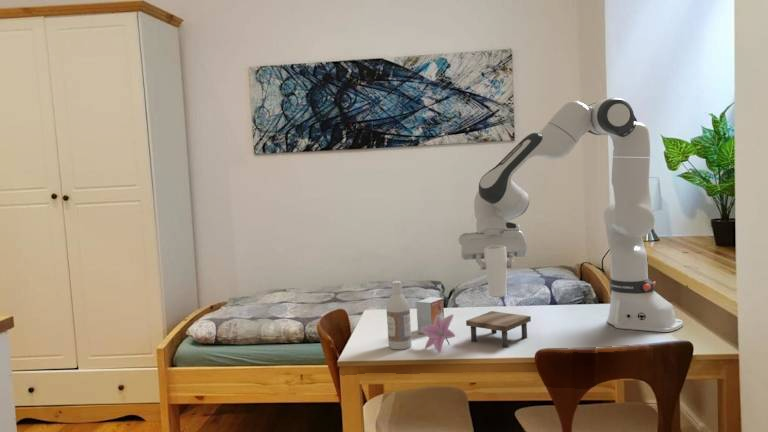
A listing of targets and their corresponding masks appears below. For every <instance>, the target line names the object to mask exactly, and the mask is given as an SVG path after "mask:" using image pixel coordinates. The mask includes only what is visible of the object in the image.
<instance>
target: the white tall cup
mask: <svg viewBox="0 0 768 432" xmlns="http://www.w3.org/2000/svg"><path fill="white" fill-rule="evenodd" d="M493 246H496V247H499V248H497V249H488V248H490V247H492V246H486V247H484V259H483V260H484V261H483V262H485V265H486V269H485V273H486V279H487V287H488V296H489V297H491V298H502V297H505V296H507V292H508V291H507V281H508V280H507V278H508V274H507V273H508V268H507V261H508V258H507V251H506V246H503V245H493Z"/></svg>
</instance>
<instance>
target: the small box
mask: <svg viewBox="0 0 768 432" xmlns="http://www.w3.org/2000/svg"><path fill="white" fill-rule="evenodd" d="M415 303H416V316H417V317H416V318H417V320H416V321H417V333H418V334H424V333H423V332H422V331H421V328H423V327H425V326H428V325H434V322H435V318H436V316H437V315H439V317H440V318H441V320H443V319H444V318H445V309H444V308H445V307H444V298H443V297H434V296H429V297H427V298H424V299H421V300H417V301H416V302H415ZM424 335H425V334H424Z"/></svg>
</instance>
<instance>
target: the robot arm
mask: <svg viewBox="0 0 768 432" xmlns="http://www.w3.org/2000/svg"><path fill="white" fill-rule="evenodd" d="M586 133H589V134H592V135H596V136H609V137H610V139H611V141H612V146H613V150H612V164H611V185H612V189H613V196H614V201H613V202H610V204H608V205H607V207H606V208H605V210H604V212H603V221H604V224H605V229H606V237H607V243H608V248H609V254H610V255H609V256H610V257H609V258H610V278H609V293H610V305H609V312H608V315H607V318H606V322H607V323H608V324H610V325H613V326H614V328H616V329H620V330H621V329H623V330H632V331H633V330H635V331H636V330H637V331H645V332H646V331H649V332H659V333H669V332H674V331H676V330H679V329H681V328H682V327H683V326H684V321H683V320H682V319H679V318H676V314H675V310H674V306H673V304H672V303H671V302H669V301H668V300H666V298H664V297H663V296H662V295H660V294H659V293H658V292H656V291H655V286H656V281H652V280H651V279H650V278H649V275H648V274H649V272H648V271H649V270H648V254H647V253H648V252H647V250H646V248H645V244H644V239H643V238H644V237H645V236H648V235H649V234H650V233H651V231H652V230H653V228H654V226H655V217H654V216H655V215H654V213H653V210H652V209H653V208H652V200H651V199H652V198H651V193H650V192H651V191H650V167H651V166H650V163H651V141H650V133H649V129H648V127H647V125H645V124H643V123H641V122H638V120H637V118H636V116H635V113H634V110H633V107H632V106H631V104H629V102H628V101H626V100H625V99H623V98H618V97H612V98H611V97H610V98H603V99H601V100H599V101H598V102H593V103H592V104H589V105H586V104H585V103H583V102H580V101H578V100H570V101H567V103H565V104H564V105H563V106H562V107H561V108H560V109H559V110H558V111H556V113H555V114H554V115H553V116H552V117H551V118H550V120H549V121H548V122H547V123H546V125H545V126H543V128H541V129H540V130H539V131H538V132H532V133H530V134H528V135H526V136H525V137H524V138H522V140H521V141H520V142H518V143H517V145H516V146H514V148H512V149H511V150H510V152H508V153H507V154H506V155H505V156H504V158H502V159H501V161H499V162H498V163H497V164H496V165H495V166H494V167H493V168H491V169H489V170H488V171H487V172H486V173H485V174H484V175H482V177H481V178H480V180H479V182H478V183H479V184H478V191H477V192H476V194H475V196H474V201H473V206H474V207H473V209H474V217H475V219H476V223H475V224H476V232H463V234H460V235H459V236H458V243H459V244H460V245H461V248H460V249H461V258H462V259H463V260H464V261H466V260H467V261H468V260H475V262H476V263H477V264H478V265H479V266H480V270H481V271H483V270H485V271H486V265H485V261H483V260H484V247H486V246H492V247H490V248H488V249H497V248H499V247H496V246H493V245H503V246H506V251H507V259H509V260H507V269H512V268H513V262H514V261H515V258H521V257H522V258H525V257H526V256H527V254H528V251H529V250H528V249H529V247H528V244H527V240H526V236H525V235H524V233H523V232H522V231H521V225H520V224H519V223H516V222H511V221H510V220H514V219H515V218H518V217H520V216H522V215H523V214H524V213H526V211H527V210H528V208H529V205H530V196H529V194H528V193H527V192H526V191H525V190H523V188H522V187H520V186H519V184H518V185H517V184H516V183H515V182H514V181H513V180H512V176H514V174H515V173H516V172H517V171H518V170H519V169H520V168H521V167H522V166H524V164H525V163H526V162H528V161H529V160H530V159H531V158H535V157H539V158H540V157H541V158H544V159H547V160H548V159H549V160H559V159H563V158H565V157H566V156H568V155H569V154H570V153H571V152H572V150H573V149H574V148H575V147H576V145H577V144H578V142H579V141H580V140H581V138H582V137H583V136H584V135H585V134H586Z"/></svg>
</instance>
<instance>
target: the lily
mask: <svg viewBox="0 0 768 432" xmlns="http://www.w3.org/2000/svg"><path fill="white" fill-rule="evenodd" d="M453 318H454V314H449V315H447V316H445V317H444V319H443V320H441V318H440V317H439V315H437V316H436V318H435V322H434V325H428V326H425V327H423V328H421V331H422V332H423V333H424V335H425V336H426V337H427V338H428V339H427V341H426V343H425V346H424V349H426V350H427V349H428V348H430V347H431V346H434V349H435V350H436V352H437V353H438V354H440V353H441V352H442V350H443V349H442V348H443V344H444V341H445V340H446V342H447V344H448V345H450V342H449V340H448V339H452V338H455V337H456V334H455V333H454V332H453V331H452V330H450V328H449V327H450V325H451V323H452V320H453ZM423 333H422V334H423Z"/></svg>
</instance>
